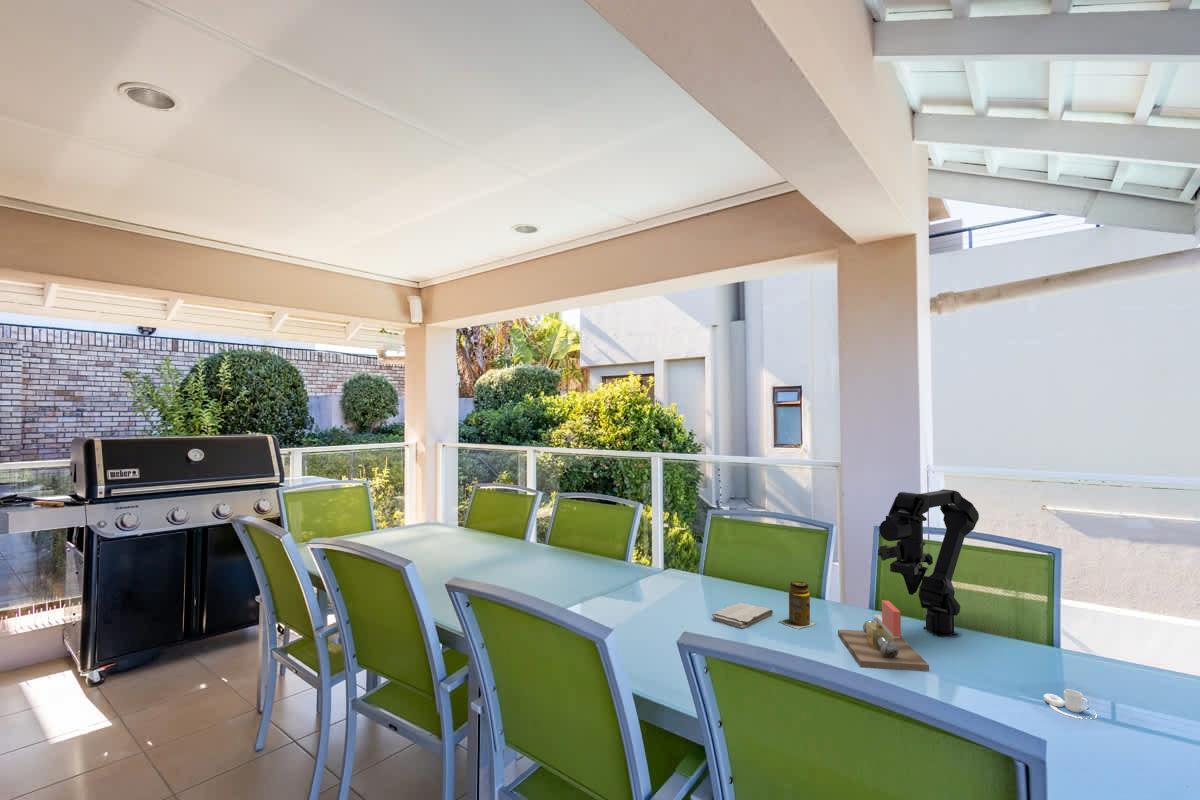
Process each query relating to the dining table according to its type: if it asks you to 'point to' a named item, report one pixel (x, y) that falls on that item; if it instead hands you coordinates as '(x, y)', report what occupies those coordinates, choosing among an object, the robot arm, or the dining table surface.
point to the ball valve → (880, 639)
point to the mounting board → (875, 658)
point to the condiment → (798, 606)
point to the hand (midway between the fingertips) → (912, 593)
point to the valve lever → (890, 619)
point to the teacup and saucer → (1067, 702)
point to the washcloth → (742, 615)
